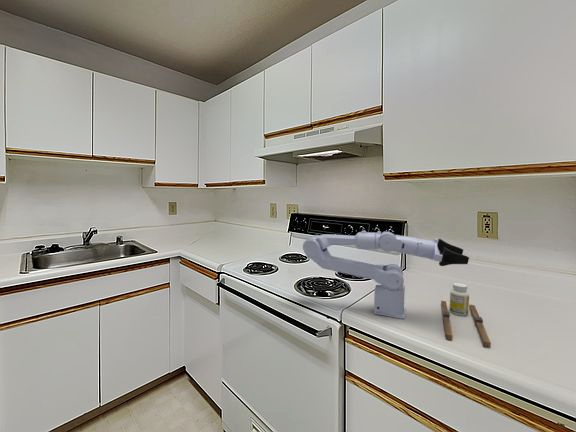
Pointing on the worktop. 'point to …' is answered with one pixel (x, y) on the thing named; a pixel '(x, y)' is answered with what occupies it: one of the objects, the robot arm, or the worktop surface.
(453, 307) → the supplement bottle
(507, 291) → the worktop surface
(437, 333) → the worktop surface
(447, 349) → the worktop surface
